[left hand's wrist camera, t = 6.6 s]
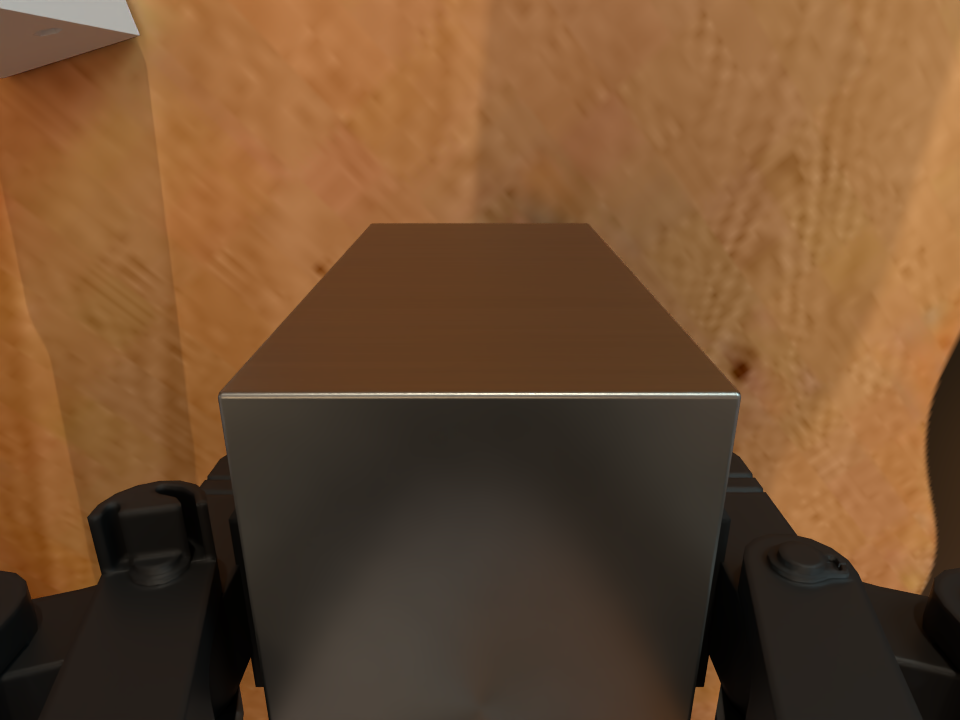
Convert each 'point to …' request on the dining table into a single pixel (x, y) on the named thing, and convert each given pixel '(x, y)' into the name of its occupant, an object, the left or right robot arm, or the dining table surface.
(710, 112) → the dining table surface
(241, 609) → the left robot arm
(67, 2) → the white wedge bracket
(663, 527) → the block
